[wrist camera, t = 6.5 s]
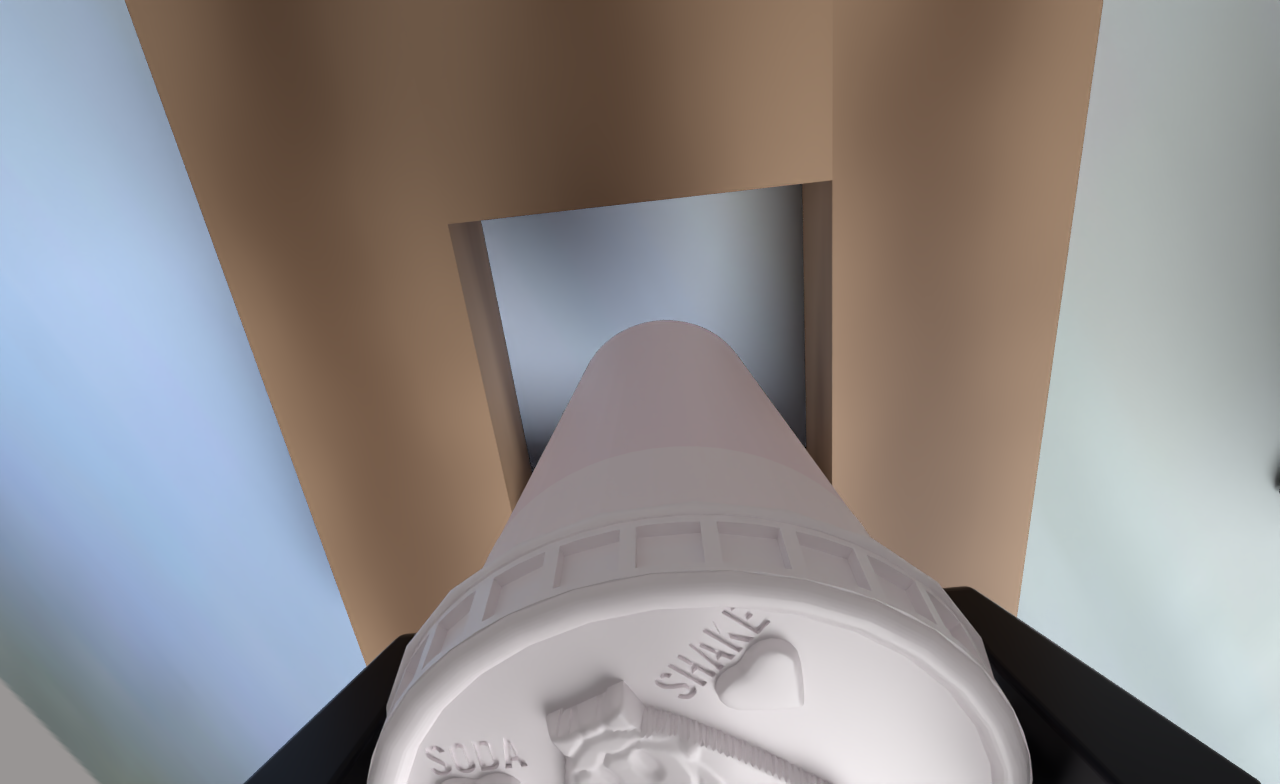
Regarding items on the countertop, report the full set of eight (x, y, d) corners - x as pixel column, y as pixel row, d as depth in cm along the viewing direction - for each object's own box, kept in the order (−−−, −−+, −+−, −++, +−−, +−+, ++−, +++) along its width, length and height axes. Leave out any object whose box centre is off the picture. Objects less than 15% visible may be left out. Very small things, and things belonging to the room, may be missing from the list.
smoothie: (617, 564, 17) (557, 1926, 5) (455, 353, 15) (-502, 1901, 2) (861, 444, 16) (1707, 1913, 3) (724, 192, 14) (1787, 1840, 1)
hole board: (1036, -113, 15) (1124, -151, 12) (968, 570, 23) (1013, 640, 20) (206, -6, 16) (117, -19, 13) (407, 621, 23) (377, 695, 21)
